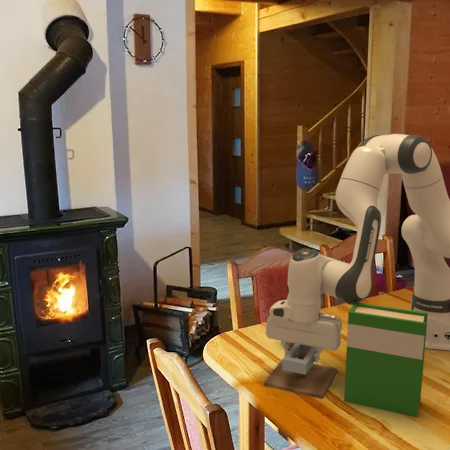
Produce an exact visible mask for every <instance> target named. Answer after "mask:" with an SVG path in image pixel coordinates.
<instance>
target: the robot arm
mask: <svg viewBox="0 0 450 450" xmlns="http://www.w3.org/2000/svg"><path fill="white" fill-rule="evenodd" d="M386 174H390V175H391V174H401V179H402V182H403V187H404V190H405V193H406V194H405V195H406V198H407V201H408V205H409V208H410V209H411V211H412V212H413V213H415V214H411V215H409V216H408V217H407V218H406V219H405V220H404V221H403V223H402V225H401V230H400V231H401V237H402V238H403V240H404V241H405V242H406V244H407V246H408V248H409V251H410V253H411V257H412V260H413V266H414V281H413V284H414V285H413V291H412V294H411V299H410V310H412V311H419V312H426V313H428V318H427V329H426V341H425V349H431V350H441V351H450V267H449V265H448V264H447V261H445V258H446V259H450V198H449V195H448V190H447V187H446V184H445V181H444V176H443V172H442V170H441V165H440V163H439V160H438V158H437V155H436V154H435V151H434V149H433V148H432V146H431V144H430V142H429V141H428V139H426V138H425V137H423V136H420V135H416V134H404V133H391V134H383V135H382V134H381V135H380V134H375V135H371V136H368V137H367V138H365V139H364V140H363V141H362V142H361V144H359V146H358V147H357V148H356V149H354V150H353V152H352V154H351V155H350V156H349V158H348V160H347V162H346V165H345V167H344V168H343V171H342V174H341V176H340V178H339V181H338V184H337V187H336V189H335V197H334V199H335V202H336V206H337V207H338V209H339V210H340V212H342V214H344V216H345V217H347V218H348V219H350V220H351V221H352V223H353V225H355V228H356V239H355V244H354V248H353V254H352V259H351V262H350V263H348V262H345V261H342V260H339V259H336V258H333V257H329V256H326V255H323V254H321V253H320V251H318V250H316V249H314V248H312V249H311V248H303V249H302V248H301V249H299V250H297V251H295V252H294V253H292V255H291V257H290V259H289V263H288V270H287V283H288V287H289V294H288V297H287V296H286V297H287V298H286V299H287V300H286V299H284V300H283V299H282V300H278V301H276V302H275V303H273V304H272V305H271V307H270V308H269V316H268V317H267V319H266V324H265V335H266V337H267V338H268V339H271V340H277V341H280V345H281V347H282V348H283V350H284V356H285V355H286V354H287V353H288V352H289V350H290V349H291V348H289V347H288V344H287V342H291V343H296V344H301V345H307V346H312V347H317V351H319V352H318V353H314V355H313V361H314V363H319V361H320V358H321V357H320V355H321V354H322V353H323V352H324V350H327V351H328V350H329V351H334V352H335V351H337V350H338V349H339V348H340V346H341V344H342V337H341V336H342V335H341V332H342V330H343V321H342V320H341V318H340V317H338V316H337V315H335V314H328V313H323V312H321V306H322V305H321V303H322V299H321V295H322V294H326V295H327V296H331V297H333V298H336V299H338V300H339V301H341V302H344V303H345V304H348V305H350V306H353V304H354V302H357V303H362V302H363V301H364V300H366V299H367V298H368V297H369V296H370V294H371V292H372V287H373V270H374V264H375V258H376V255H377V254H376V253H377V248H378V244H379V243H378V242H379V238H380V231H381V225H382V214H381V211H380V209H378V197H379V194H380V191H381V187H382V184H383V182H384V177H385V175H386Z"/></svg>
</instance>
